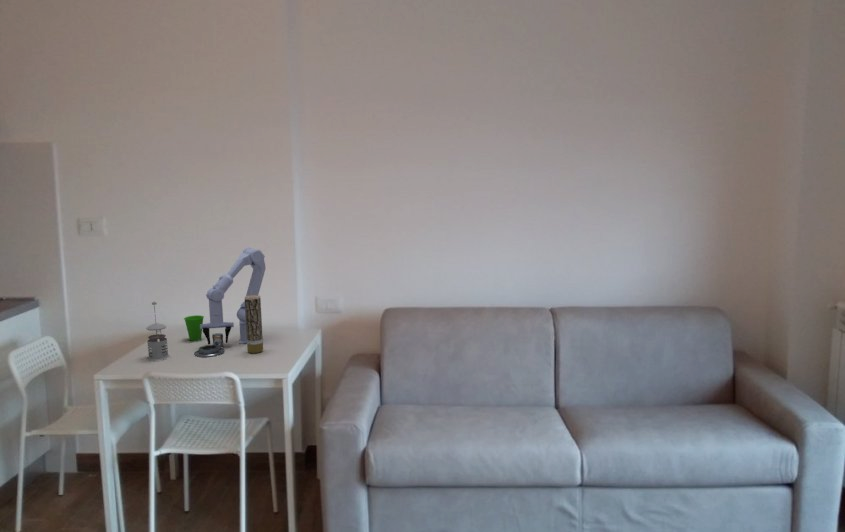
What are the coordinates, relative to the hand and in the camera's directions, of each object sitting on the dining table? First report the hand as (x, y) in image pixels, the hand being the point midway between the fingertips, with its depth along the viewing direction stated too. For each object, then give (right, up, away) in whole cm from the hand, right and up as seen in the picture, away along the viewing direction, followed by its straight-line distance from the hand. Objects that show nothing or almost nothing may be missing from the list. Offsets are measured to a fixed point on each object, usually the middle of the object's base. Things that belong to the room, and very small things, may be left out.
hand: (218, 343), depth 293 cm
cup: (-15, 0, +13) cm, 20 cm away
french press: (-21, -5, -14) cm, 26 cm away
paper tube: (+19, -3, -8) cm, 21 cm away
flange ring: (-1, -3, -9) cm, 10 cm away
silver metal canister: (0, -2, 0) cm, 2 cm away
